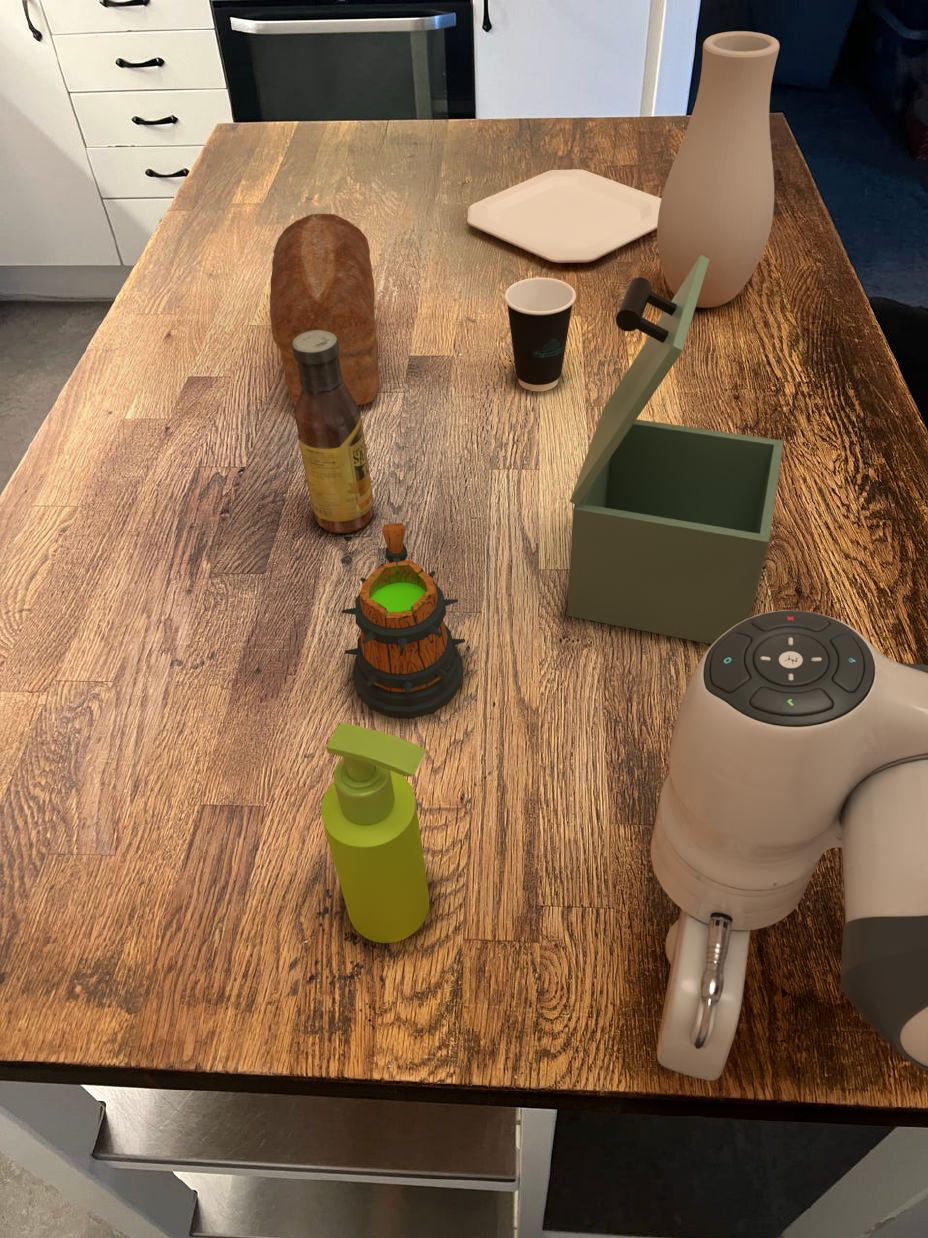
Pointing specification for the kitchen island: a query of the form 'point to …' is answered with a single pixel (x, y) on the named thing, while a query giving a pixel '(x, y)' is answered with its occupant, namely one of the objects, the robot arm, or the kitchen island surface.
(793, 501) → the kitchen island surface
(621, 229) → the plate
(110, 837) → the kitchen island surface
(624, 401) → the bin lid
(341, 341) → the bread
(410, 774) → the soap dispenser
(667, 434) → the bin
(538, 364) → the dixie cup
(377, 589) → the mug
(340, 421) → the sauce bottle
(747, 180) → the vase
